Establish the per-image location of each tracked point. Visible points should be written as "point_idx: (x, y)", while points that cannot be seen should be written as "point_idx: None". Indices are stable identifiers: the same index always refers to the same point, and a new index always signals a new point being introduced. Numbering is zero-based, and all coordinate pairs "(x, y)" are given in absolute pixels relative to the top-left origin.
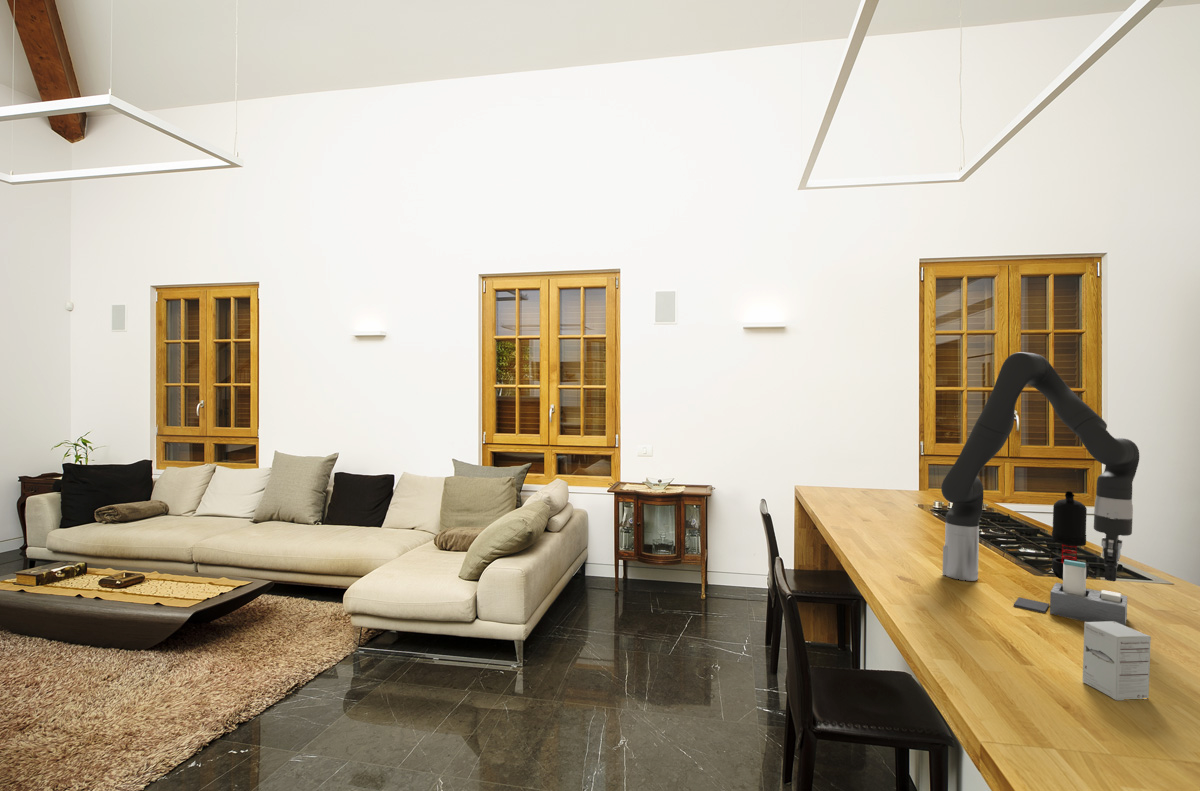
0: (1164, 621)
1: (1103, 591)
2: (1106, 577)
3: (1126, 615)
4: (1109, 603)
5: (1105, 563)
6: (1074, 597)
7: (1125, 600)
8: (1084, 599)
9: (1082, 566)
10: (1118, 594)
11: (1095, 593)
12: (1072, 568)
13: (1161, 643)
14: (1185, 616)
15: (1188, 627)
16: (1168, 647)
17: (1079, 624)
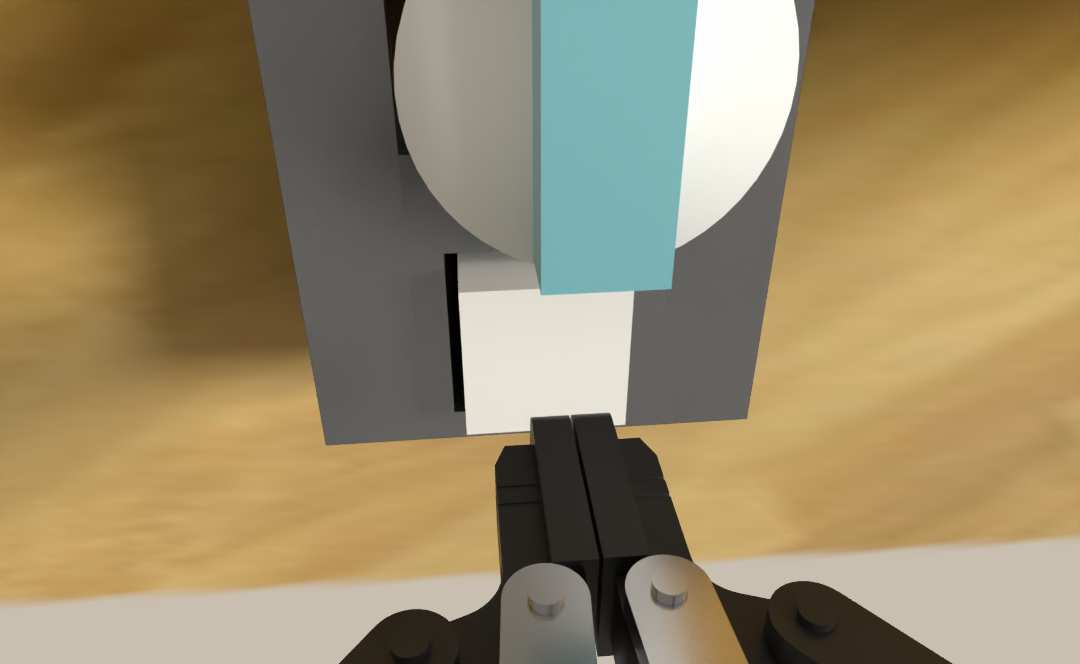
0: (798, 466)
1: (564, 302)
2: (533, 445)
3: None
4: (316, 343)
5: (362, 656)
6: (257, 31)
7: None
8: (276, 135)
9: (535, 231)
10: (554, 413)
11: None
12: (394, 64)
13: (268, 491)
14: (994, 527)
15: (757, 551)
16: (221, 519)
17: (182, 48)
